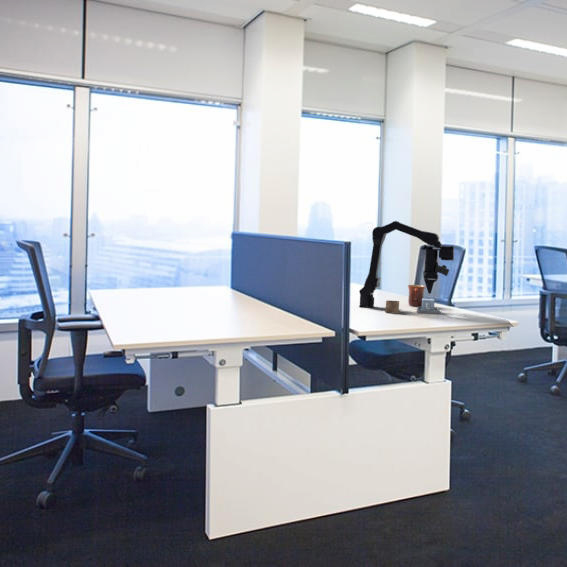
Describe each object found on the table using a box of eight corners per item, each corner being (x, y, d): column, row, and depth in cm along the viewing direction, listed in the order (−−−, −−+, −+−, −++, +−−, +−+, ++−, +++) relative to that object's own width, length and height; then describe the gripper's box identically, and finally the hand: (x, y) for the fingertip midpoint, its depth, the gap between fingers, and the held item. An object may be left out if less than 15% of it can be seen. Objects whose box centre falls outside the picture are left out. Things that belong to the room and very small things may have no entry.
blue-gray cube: (421, 311, 281) (422, 299, 280) (421, 309, 286) (422, 298, 286) (433, 312, 280) (434, 300, 279) (433, 310, 285) (434, 299, 284)
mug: (406, 304, 307) (407, 284, 306) (424, 305, 305) (425, 285, 304) (406, 307, 295) (407, 287, 294) (424, 308, 293) (426, 288, 292)
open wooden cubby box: (385, 312, 277) (385, 302, 276) (385, 310, 283) (386, 300, 282) (398, 313, 275) (399, 302, 275) (398, 311, 281) (399, 301, 281)
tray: (417, 312, 279) (417, 309, 279) (416, 309, 289) (417, 306, 289) (438, 314, 277) (439, 311, 277) (437, 311, 287) (438, 307, 287)
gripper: (450, 261, 269) (448, 295, 271) (447, 259, 287) (445, 290, 289) (425, 260, 272) (423, 294, 273) (424, 258, 290) (422, 289, 291)
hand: (429, 292), depth 282 cm, fingers open, 9 cm apart
